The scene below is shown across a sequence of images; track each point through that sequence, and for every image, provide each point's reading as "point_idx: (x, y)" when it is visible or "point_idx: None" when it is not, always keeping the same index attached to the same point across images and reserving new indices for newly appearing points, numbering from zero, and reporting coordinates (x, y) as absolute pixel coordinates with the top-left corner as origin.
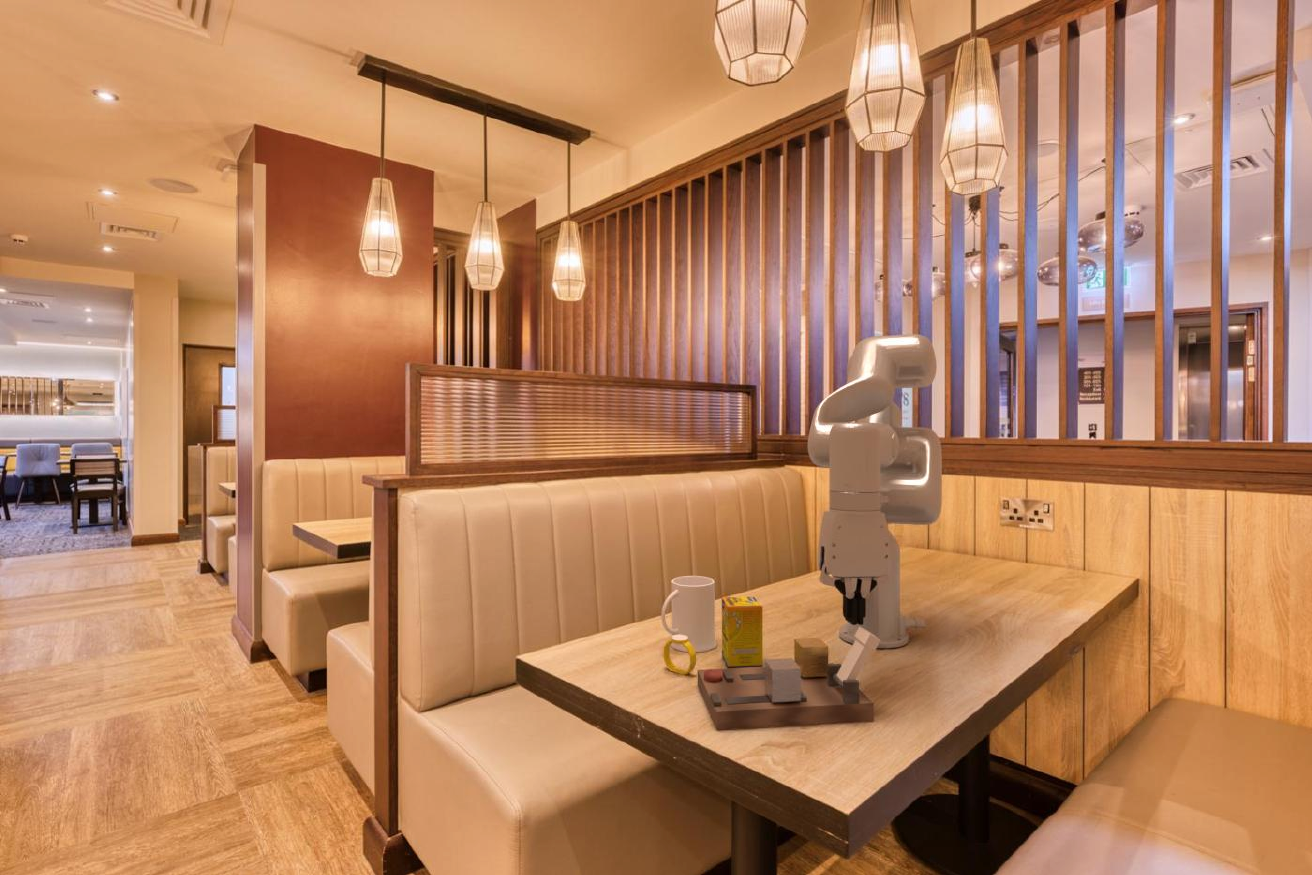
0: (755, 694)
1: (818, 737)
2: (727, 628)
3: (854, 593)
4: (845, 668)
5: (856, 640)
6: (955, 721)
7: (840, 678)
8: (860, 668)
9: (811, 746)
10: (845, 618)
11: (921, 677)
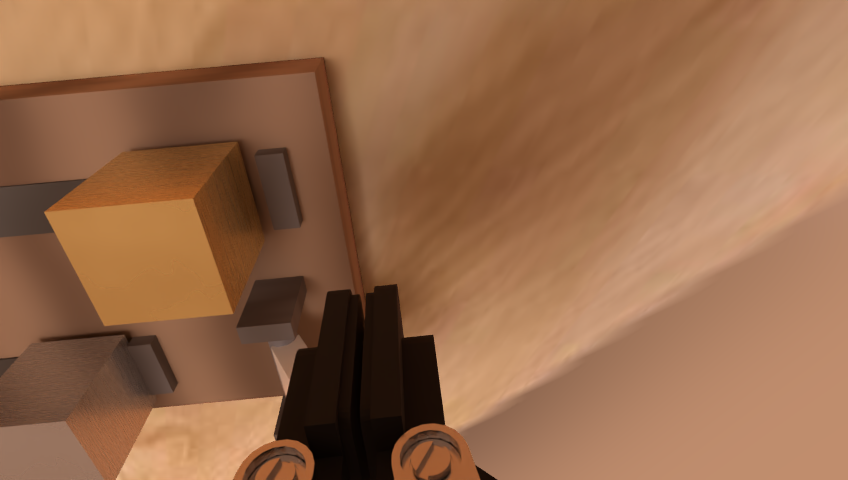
0: (7, 343)
1: (221, 412)
2: None
3: (377, 478)
4: None
5: None
6: (577, 351)
7: (279, 374)
8: None
9: (202, 439)
10: (328, 293)
11: (692, 57)
